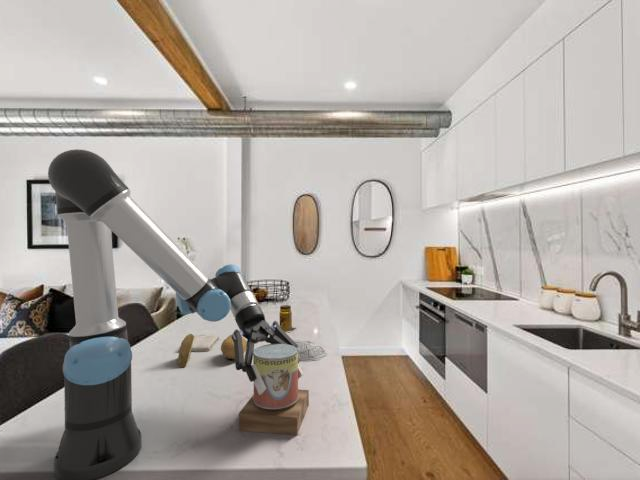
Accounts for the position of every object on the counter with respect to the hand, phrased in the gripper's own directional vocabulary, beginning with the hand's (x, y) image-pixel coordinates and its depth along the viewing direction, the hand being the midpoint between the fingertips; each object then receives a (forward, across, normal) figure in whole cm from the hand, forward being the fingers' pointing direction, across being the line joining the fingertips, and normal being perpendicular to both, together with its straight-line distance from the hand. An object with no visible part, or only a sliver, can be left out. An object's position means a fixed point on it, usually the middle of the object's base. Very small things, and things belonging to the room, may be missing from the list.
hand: (282, 384), depth 82 cm
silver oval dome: (-17, -34, -30) cm, 48 cm away
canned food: (+1, 0, -5) cm, 5 cm away
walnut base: (+5, 0, -8) cm, 10 cm away
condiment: (-39, -54, -52) cm, 85 cm away
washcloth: (-44, -14, -58) cm, 75 cm away
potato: (-27, -15, -41) cm, 51 cm away
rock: (-34, 0, -48) cm, 59 cm away
